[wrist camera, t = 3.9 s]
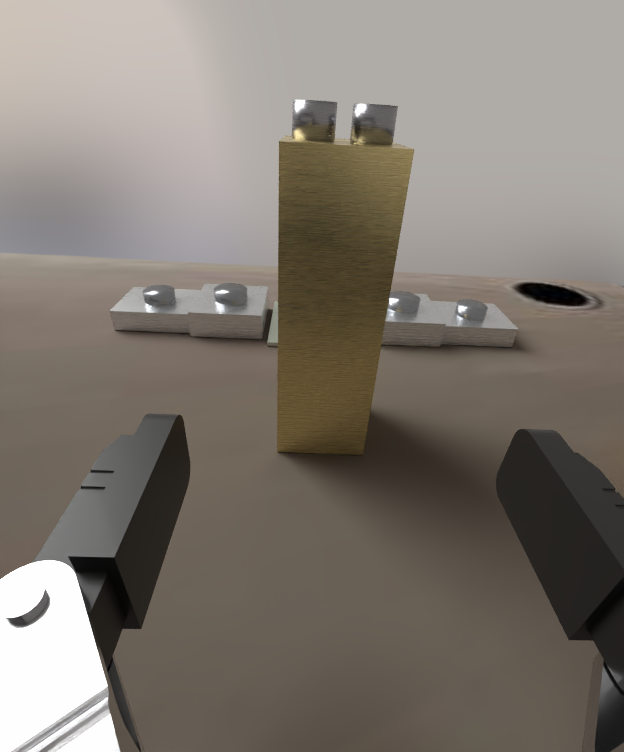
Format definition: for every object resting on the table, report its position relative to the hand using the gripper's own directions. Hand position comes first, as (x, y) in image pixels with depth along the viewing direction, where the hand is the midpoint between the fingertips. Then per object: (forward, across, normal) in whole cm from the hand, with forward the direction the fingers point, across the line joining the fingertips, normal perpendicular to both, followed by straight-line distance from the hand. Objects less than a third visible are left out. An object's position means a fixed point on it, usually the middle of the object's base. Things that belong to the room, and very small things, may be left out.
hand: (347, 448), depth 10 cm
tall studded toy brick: (+10, 0, +8) cm, 13 cm away
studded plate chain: (+23, 0, +8) cm, 25 cm away
